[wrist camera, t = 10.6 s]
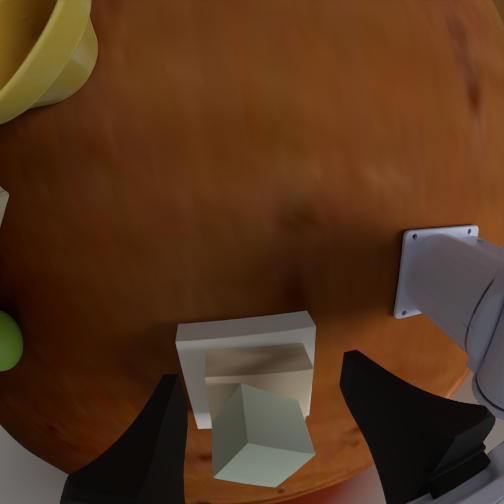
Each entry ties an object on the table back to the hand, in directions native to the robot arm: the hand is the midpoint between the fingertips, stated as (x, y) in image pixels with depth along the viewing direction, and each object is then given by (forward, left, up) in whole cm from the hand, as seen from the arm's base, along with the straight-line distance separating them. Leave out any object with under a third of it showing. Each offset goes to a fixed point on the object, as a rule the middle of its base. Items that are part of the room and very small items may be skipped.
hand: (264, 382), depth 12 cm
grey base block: (0, +8, -11) cm, 14 cm away
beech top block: (0, +8, -8) cm, 11 cm away
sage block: (0, +8, -5) cm, 9 cm away
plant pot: (+12, -18, -11) cm, 24 cm away
